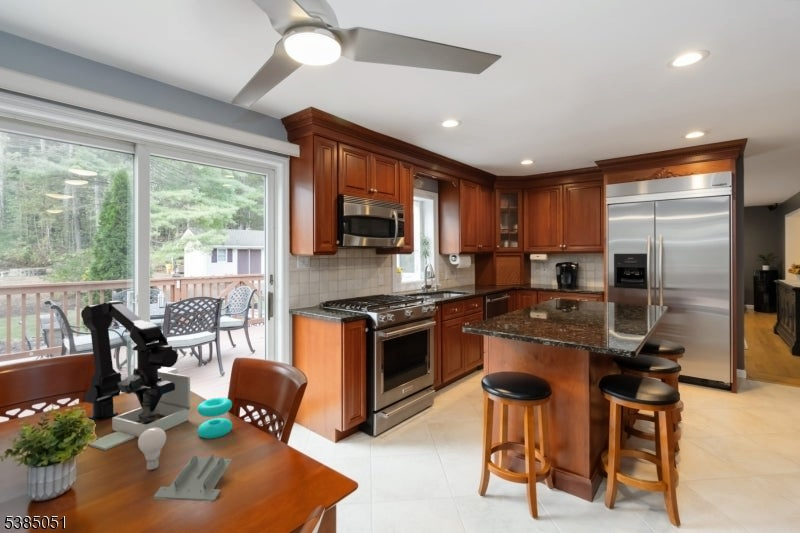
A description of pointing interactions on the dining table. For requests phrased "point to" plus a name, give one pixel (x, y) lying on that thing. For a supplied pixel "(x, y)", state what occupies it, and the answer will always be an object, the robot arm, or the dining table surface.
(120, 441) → the coaster
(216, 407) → the donuts
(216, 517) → the dining table surface
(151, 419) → the dark grey chess piece
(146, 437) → the lightbulb
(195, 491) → the metal bracket
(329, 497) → the dining table surface
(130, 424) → the case
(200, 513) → the dining table surface
